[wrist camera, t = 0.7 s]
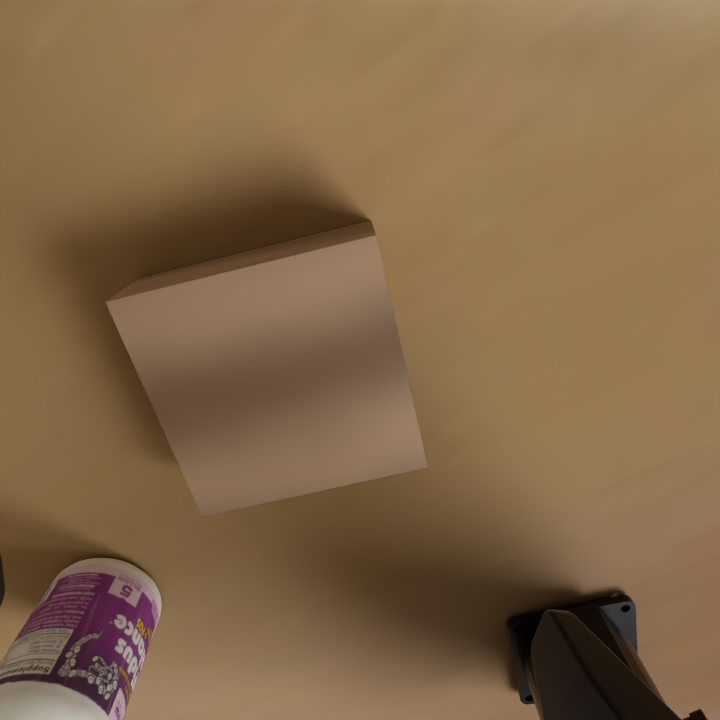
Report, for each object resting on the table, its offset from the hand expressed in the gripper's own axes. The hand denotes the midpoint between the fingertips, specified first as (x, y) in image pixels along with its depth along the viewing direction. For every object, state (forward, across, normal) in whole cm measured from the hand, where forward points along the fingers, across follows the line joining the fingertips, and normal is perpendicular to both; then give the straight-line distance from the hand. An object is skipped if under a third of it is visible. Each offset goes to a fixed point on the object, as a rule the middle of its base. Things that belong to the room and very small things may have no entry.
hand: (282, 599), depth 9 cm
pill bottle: (+14, +8, +15) cm, 22 cm away
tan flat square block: (+13, +1, +1) cm, 13 cm away
